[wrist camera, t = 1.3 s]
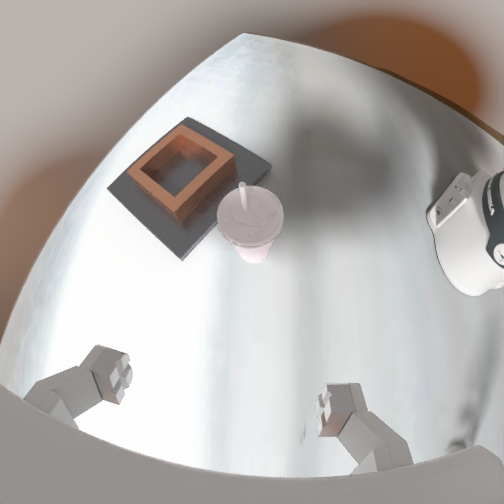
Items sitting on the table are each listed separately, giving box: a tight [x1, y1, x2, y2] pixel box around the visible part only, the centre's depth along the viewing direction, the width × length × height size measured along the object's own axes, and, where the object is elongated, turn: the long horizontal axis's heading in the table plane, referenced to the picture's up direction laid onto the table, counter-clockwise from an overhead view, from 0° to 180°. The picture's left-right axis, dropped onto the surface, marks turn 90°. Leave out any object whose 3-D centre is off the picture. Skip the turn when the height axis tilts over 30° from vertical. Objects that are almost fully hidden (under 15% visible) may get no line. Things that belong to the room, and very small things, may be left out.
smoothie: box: [217, 182, 284, 263], centre depth 28 cm, size 6×6×14 cm
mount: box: [107, 117, 271, 261], centre depth 37 cm, size 18×18×4 cm
